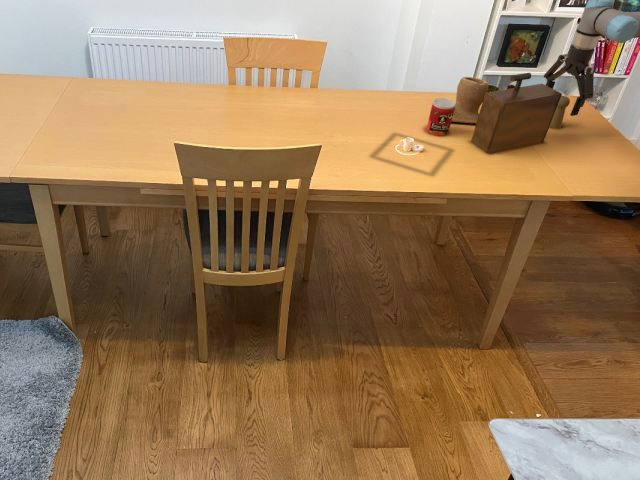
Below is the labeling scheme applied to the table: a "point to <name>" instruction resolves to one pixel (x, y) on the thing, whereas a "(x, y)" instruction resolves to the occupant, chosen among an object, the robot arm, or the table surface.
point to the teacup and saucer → (410, 146)
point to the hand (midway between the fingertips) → (559, 107)
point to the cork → (559, 112)
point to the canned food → (440, 116)
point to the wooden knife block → (515, 116)
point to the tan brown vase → (469, 99)
